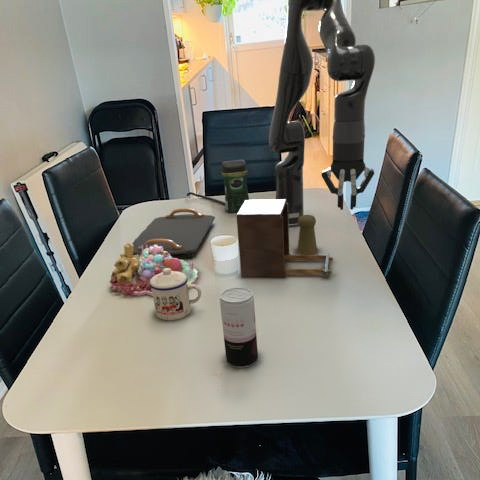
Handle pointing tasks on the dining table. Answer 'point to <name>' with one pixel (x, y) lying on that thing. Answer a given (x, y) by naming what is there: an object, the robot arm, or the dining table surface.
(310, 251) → the olive peg doll
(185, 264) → the pastel sphere sculpture
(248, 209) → the cabinet
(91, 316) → the dining table surface
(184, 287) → the teacup with lid
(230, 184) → the coffee jar
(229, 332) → the beverage can
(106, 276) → the dining table surface
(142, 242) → the serving tray
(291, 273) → the drawer
